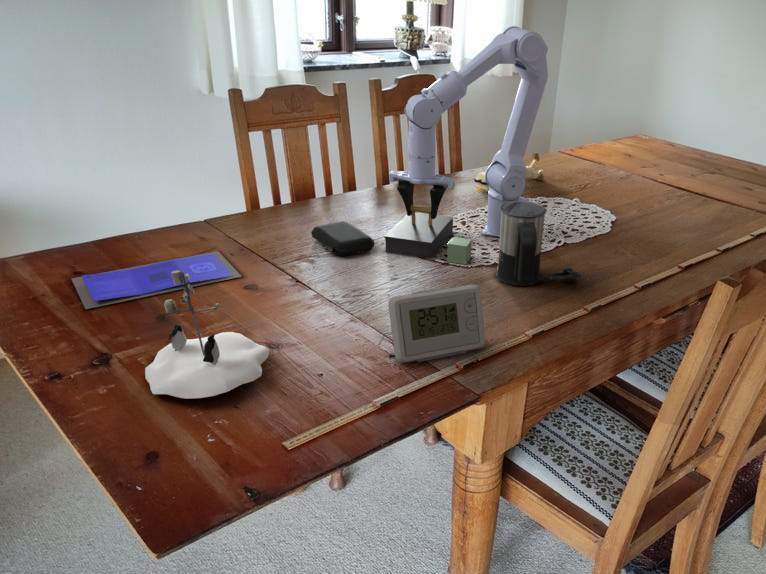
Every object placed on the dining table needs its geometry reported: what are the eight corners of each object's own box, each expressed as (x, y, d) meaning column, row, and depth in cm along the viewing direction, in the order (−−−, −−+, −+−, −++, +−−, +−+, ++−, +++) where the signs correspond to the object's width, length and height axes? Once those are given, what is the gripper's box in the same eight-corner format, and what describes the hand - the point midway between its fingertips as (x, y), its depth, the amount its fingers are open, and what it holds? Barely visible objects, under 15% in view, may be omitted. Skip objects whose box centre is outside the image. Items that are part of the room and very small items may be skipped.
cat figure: (523, 177, 206) (463, 186, 190) (527, 148, 202) (466, 154, 186) (548, 186, 201) (489, 195, 184) (552, 155, 196) (492, 162, 180)
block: (471, 257, 150) (471, 239, 148) (466, 264, 147) (466, 246, 145) (452, 254, 151) (453, 236, 149) (447, 261, 148) (447, 243, 145)
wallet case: (431, 258, 148) (431, 244, 147) (385, 252, 150) (385, 237, 149) (452, 233, 162) (452, 219, 160) (410, 227, 164) (409, 213, 162)
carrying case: (304, 238, 155) (334, 261, 145) (302, 225, 153) (333, 247, 143) (346, 229, 160) (378, 251, 151) (345, 217, 159) (378, 238, 149)
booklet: (233, 275, 136) (232, 272, 136) (94, 304, 124) (93, 301, 123) (213, 254, 145) (213, 251, 144) (82, 278, 132) (81, 275, 132)
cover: (431, 245, 146) (431, 224, 144) (384, 238, 148) (383, 217, 146) (453, 219, 160) (453, 199, 158) (409, 213, 162) (409, 193, 160)
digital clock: (392, 367, 110) (391, 309, 105) (386, 340, 118) (384, 283, 112) (490, 359, 114) (494, 302, 108) (478, 333, 121) (481, 278, 116)
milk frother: (488, 270, 144) (492, 202, 137) (554, 261, 150) (561, 195, 142) (518, 300, 134) (524, 227, 126) (587, 289, 139) (597, 219, 131)
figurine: (289, 377, 105) (272, 277, 97) (164, 416, 95) (134, 308, 88) (246, 333, 119) (228, 243, 112) (134, 364, 110) (106, 267, 103)
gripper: (383, 156, 145) (384, 217, 152) (449, 164, 142) (447, 226, 149) (395, 148, 151) (396, 207, 158) (458, 155, 148) (456, 215, 155)
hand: (421, 216), depth 154 cm, fingers closed on cover, 5 cm apart
